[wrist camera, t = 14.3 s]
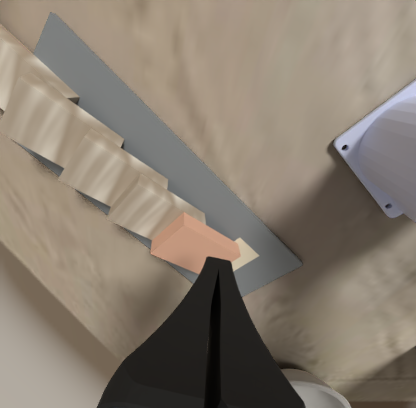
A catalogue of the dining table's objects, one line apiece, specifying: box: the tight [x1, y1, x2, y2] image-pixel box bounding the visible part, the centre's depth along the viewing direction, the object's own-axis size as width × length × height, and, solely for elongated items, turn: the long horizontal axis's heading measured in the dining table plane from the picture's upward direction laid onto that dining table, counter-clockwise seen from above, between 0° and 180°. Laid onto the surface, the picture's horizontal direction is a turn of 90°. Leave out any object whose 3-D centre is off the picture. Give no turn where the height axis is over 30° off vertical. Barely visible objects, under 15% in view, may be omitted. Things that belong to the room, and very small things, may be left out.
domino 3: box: [58, 129, 168, 207], centre depth 19 cm, size 2×5×8 cm
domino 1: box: [0, 24, 80, 111], centre depth 18 cm, size 2×5×8 cm
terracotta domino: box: [150, 212, 241, 274], centre depth 22 cm, size 2×5×8 cm
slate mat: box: [15, 12, 303, 297], centre depth 22 cm, size 31×12×1 cm, turn 45°
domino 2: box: [0, 73, 124, 168], centre depth 18 cm, size 2×5×8 cm
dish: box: [281, 369, 351, 408], centre depth 33 cm, size 18×14×5 cm
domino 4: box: [107, 173, 206, 240], centre depth 21 cm, size 2×5×8 cm
